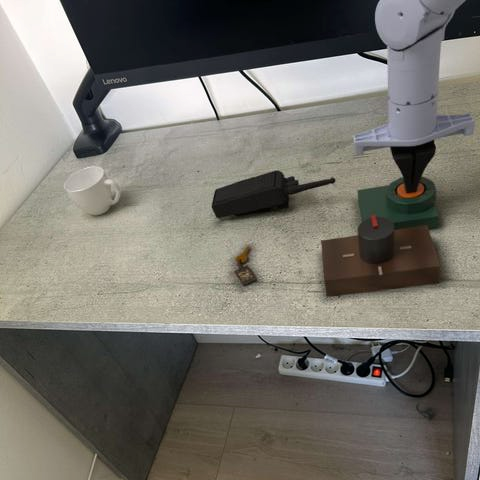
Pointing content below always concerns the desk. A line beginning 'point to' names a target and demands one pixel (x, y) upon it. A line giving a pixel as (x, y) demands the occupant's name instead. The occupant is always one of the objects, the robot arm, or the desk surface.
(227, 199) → the walkie-talkie
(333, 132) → the desk surface
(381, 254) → the knob
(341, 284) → the lock panel
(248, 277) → the key tag
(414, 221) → the button block
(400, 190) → the button
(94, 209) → the cup
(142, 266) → the desk surface
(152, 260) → the desk surface
